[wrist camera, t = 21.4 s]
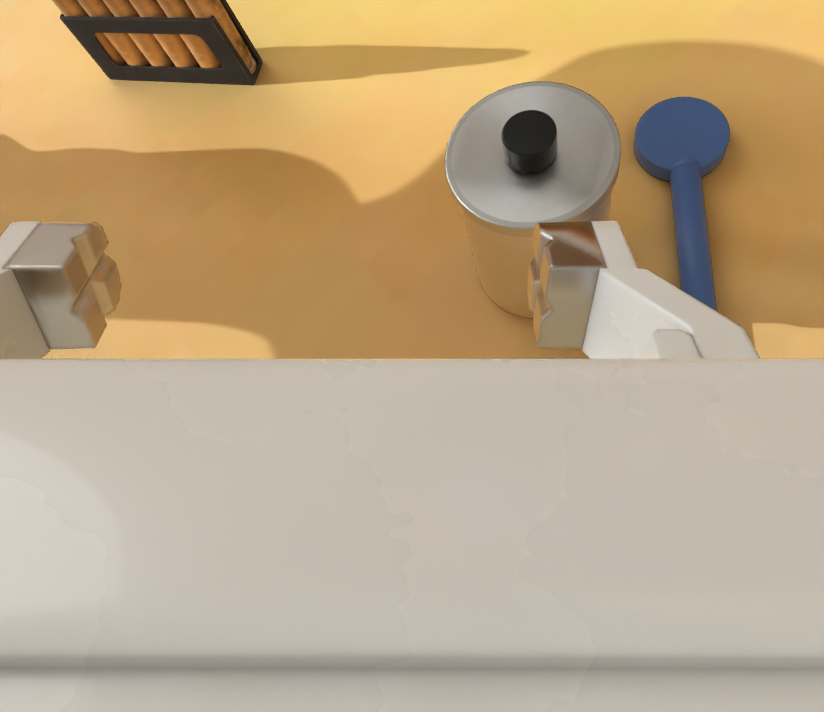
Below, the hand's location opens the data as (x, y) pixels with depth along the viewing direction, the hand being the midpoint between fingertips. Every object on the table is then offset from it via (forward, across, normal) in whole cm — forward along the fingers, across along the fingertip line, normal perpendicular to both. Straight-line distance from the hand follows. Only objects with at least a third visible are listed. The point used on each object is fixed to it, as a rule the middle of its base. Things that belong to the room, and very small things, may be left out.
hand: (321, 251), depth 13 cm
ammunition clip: (+34, +13, +9) cm, 37 cm away
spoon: (+18, -15, +11) cm, 26 cm away
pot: (+18, -8, +12) cm, 23 cm away
